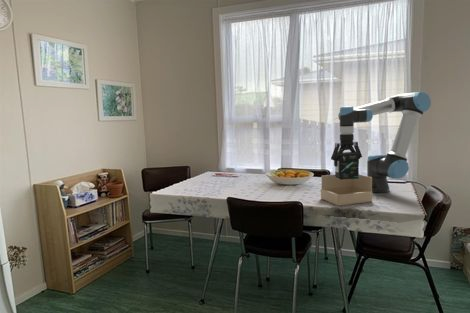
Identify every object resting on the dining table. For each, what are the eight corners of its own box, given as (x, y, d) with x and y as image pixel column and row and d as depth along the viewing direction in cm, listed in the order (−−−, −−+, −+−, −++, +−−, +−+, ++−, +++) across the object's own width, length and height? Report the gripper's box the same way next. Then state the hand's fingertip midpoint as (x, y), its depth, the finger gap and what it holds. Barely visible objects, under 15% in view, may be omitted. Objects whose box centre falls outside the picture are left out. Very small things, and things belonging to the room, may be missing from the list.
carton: (352, 195, 206) (352, 172, 205) (372, 201, 190) (372, 177, 188) (320, 198, 200) (320, 175, 198) (338, 206, 183) (338, 181, 181)
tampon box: (352, 175, 198) (352, 151, 196) (359, 178, 189) (359, 153, 187) (334, 176, 198) (334, 152, 196) (340, 179, 189) (340, 154, 187)
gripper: (360, 132, 197) (359, 168, 200) (324, 134, 190) (324, 171, 193) (368, 132, 190) (368, 169, 193) (332, 135, 183) (332, 173, 186)
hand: (346, 170), depth 193 cm, fingers closed on tampon box, 12 cm apart
